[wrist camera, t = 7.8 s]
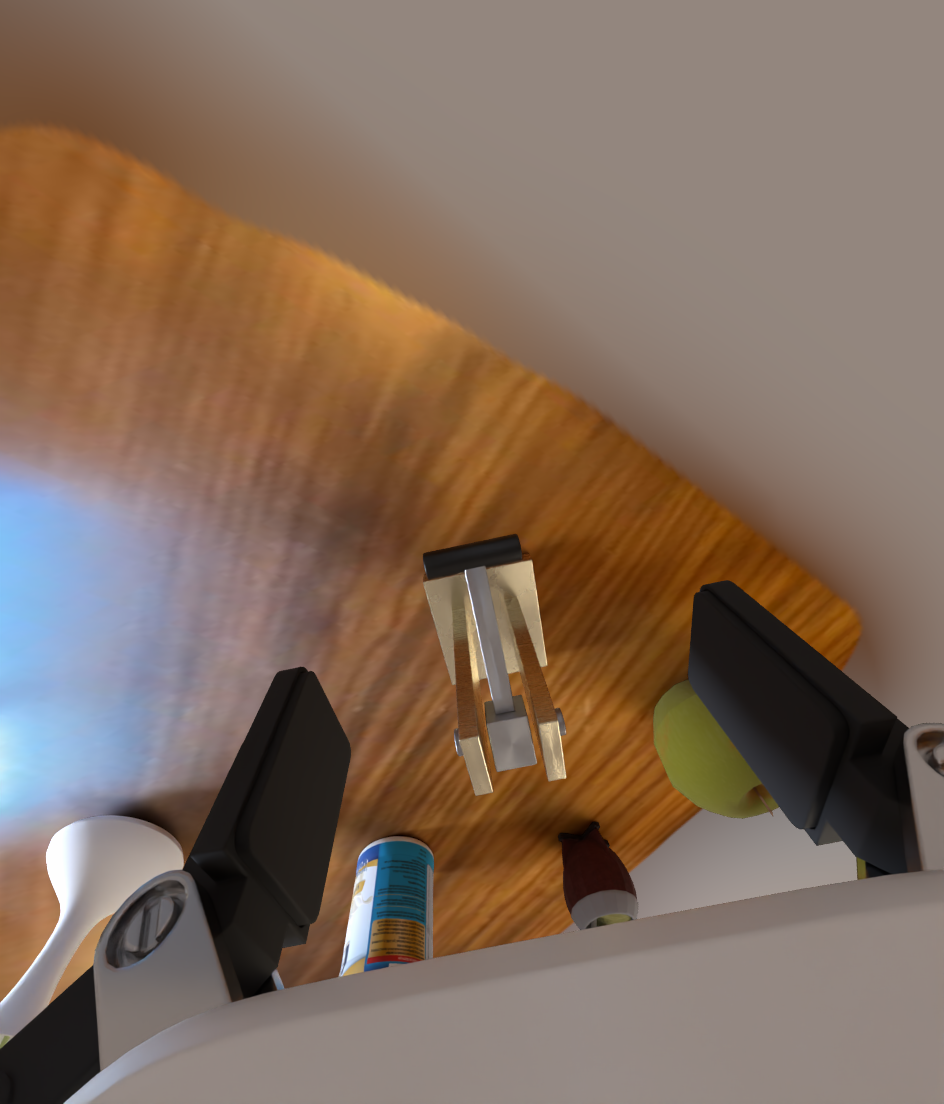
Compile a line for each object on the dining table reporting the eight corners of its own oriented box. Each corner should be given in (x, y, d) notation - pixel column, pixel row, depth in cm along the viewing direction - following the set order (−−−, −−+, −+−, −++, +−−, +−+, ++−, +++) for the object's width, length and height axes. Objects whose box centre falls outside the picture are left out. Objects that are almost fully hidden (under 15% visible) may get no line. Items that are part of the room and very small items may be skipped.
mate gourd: (625, 824, 46) (702, 1019, 33) (591, 864, 49) (650, 1058, 36) (566, 814, 44) (622, 1014, 31) (535, 856, 47) (574, 1056, 34)
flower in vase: (78, 787, 37) (-467, 1443, 15) (208, 820, 41) (-78, 1400, 18) (50, 864, 42) (-405, 1464, 19) (169, 889, 45) (-100, 1426, 22)
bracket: (423, 574, 31) (415, 706, 19) (528, 552, 31) (584, 671, 19) (451, 675, 35) (458, 832, 24) (544, 656, 35) (597, 804, 23)
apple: (631, 741, 40) (694, 867, 30) (638, 664, 36) (714, 780, 26) (731, 727, 41) (826, 847, 31) (749, 649, 36) (866, 758, 26)
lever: (425, 550, 23) (420, 556, 20) (514, 531, 23) (519, 535, 20) (470, 750, 24) (470, 777, 22) (553, 733, 24) (563, 759, 22)
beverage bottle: (446, 865, 47) (452, 1183, 29) (378, 885, 48) (341, 1208, 30) (417, 823, 43) (402, 1157, 25) (343, 846, 44) (278, 1186, 26)
